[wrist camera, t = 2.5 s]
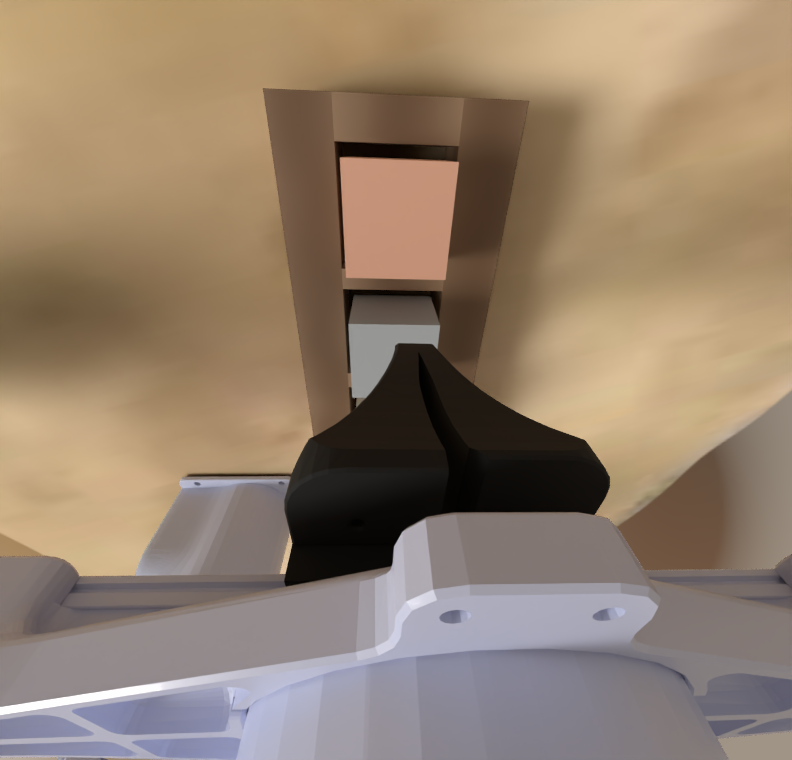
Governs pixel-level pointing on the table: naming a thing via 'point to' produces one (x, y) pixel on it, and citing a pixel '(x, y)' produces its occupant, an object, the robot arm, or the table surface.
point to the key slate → (385, 334)
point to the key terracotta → (397, 216)
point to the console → (323, 218)
